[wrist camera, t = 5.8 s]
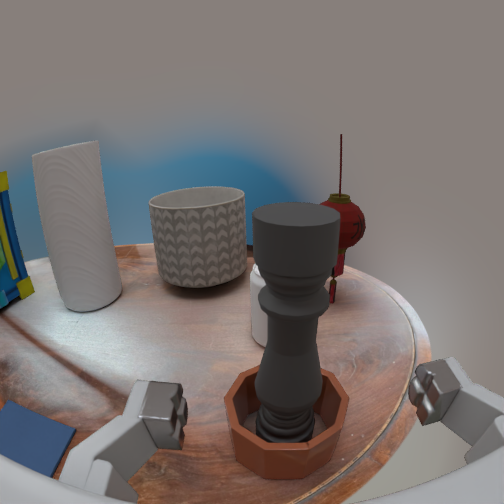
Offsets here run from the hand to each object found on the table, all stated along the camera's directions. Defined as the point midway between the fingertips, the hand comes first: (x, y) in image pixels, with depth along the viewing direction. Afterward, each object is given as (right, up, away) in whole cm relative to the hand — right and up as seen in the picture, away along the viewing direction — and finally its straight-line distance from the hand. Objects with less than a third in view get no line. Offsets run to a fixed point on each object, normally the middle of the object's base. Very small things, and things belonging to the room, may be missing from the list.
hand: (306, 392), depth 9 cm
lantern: (+13, -5, +46) cm, 48 cm away
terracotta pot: (+2, -16, +20) cm, 25 cm away
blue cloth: (-31, -20, +13) cm, 39 cm away
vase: (-36, -5, +49) cm, 61 cm away
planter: (-12, -1, +56) cm, 57 cm away
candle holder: (+2, -16, +20) cm, 26 cm away
